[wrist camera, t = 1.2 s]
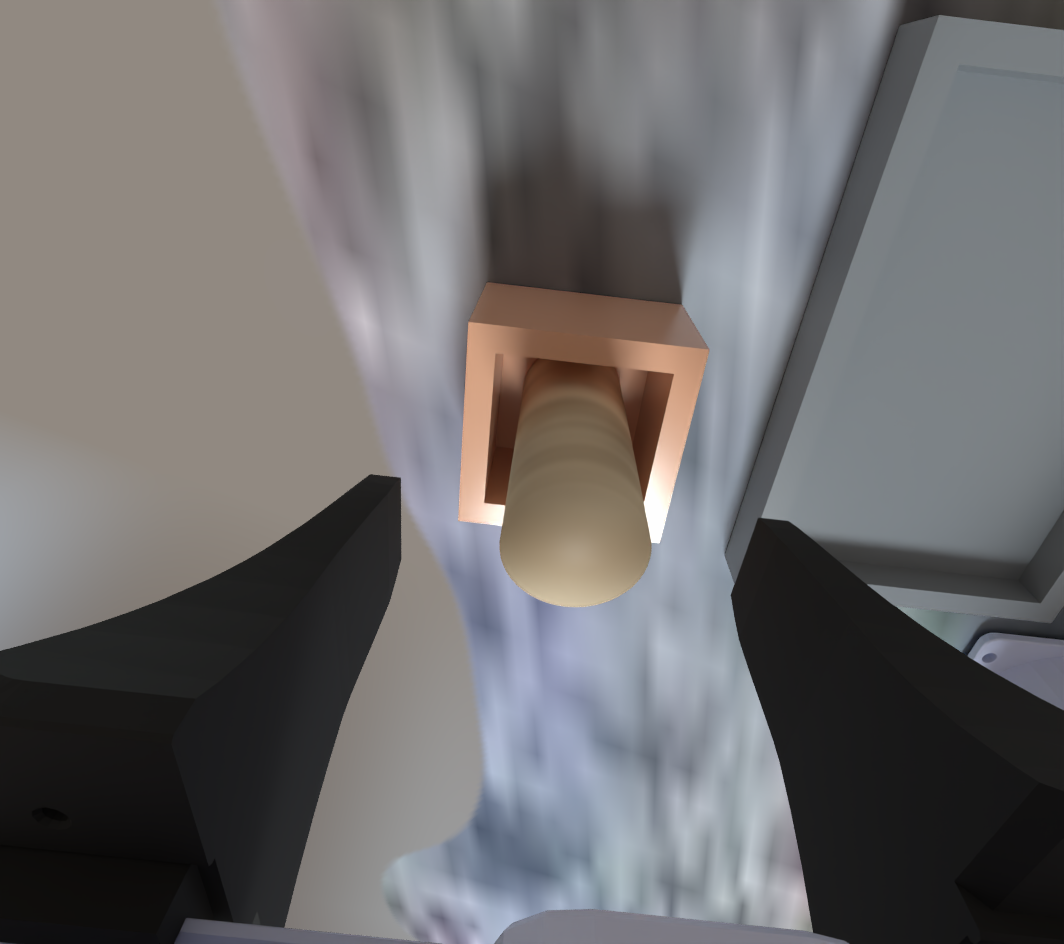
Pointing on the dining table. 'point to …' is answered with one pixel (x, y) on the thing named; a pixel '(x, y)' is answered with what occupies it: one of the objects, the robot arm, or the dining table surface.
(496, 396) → the open box
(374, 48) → the dining table surface
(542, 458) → the dowel
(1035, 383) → the tray
